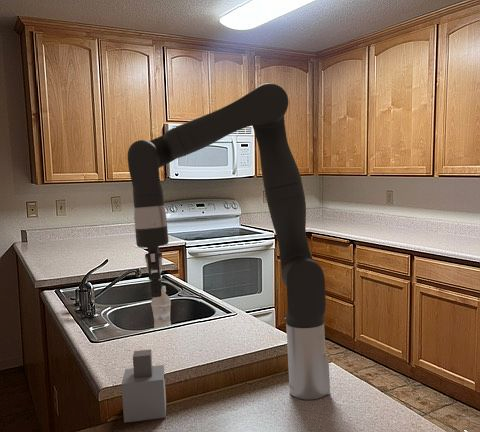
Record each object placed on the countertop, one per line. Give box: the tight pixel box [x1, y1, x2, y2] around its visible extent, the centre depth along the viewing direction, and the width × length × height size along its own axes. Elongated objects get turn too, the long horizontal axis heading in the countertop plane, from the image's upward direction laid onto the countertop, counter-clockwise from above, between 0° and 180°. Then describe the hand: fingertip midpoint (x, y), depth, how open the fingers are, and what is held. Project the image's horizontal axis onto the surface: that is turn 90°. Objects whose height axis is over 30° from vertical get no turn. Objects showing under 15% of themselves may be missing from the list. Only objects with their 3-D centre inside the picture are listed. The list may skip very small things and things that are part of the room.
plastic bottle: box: [150, 285, 172, 329], centre depth 156 cm, size 6×7×20 cm
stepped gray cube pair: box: [120, 349, 167, 424], centre depth 108 cm, size 9×9×14 cm
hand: (157, 293), depth 110 cm, fingers open, 8 cm apart
